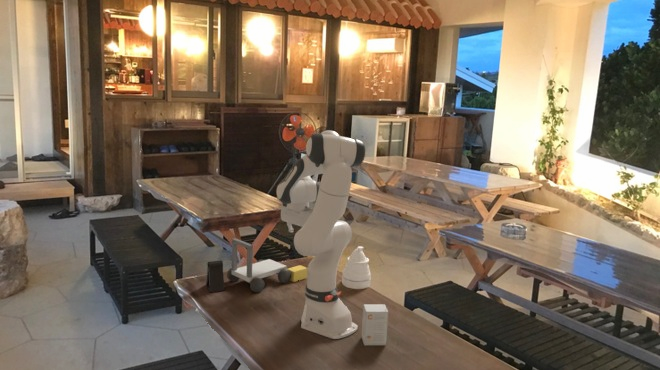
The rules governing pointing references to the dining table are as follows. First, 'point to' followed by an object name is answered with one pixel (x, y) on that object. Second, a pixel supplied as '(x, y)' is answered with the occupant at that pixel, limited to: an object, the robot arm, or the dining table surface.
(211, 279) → the phone stand
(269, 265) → the flatbed trolley
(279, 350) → the dining table surface
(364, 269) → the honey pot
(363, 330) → the small box
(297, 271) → the tall gold block
